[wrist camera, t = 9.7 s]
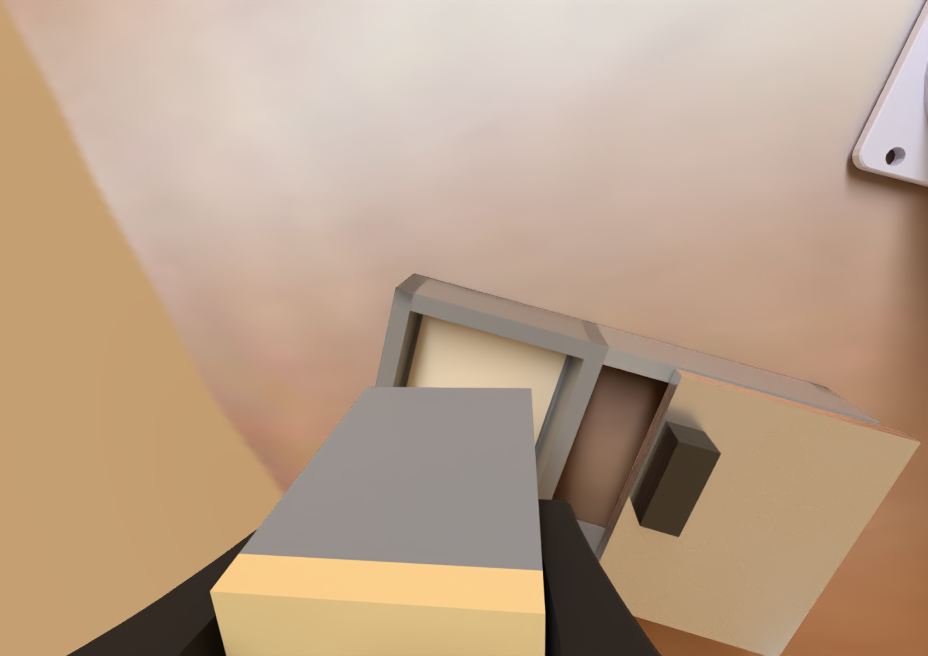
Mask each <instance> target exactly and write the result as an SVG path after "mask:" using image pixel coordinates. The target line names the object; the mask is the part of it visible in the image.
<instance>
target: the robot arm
mask: <svg viewBox="0 0 928 656" xmlns="http://www.w3.org/2000/svg"><path fill="white" fill-rule="evenodd" d="M891 149H892V150H894V153H895V158H894V160H893V162H892V163H891V164H889V165H888V164H887V163H886V160H885V158H886V154H887V153H888V152H889V151H890V150H891ZM852 159H853V163H854V165H855V166H856V167H857V168H859V169H861V170H864V171H868V172H872V173H876V174H880V175H883V176H887V177H891V178H895V179H899V180H903V181H907V182H911V183H915V184H919V185H922V186H926V187H928V0H927V1H926V4H925V6H924V8H923V10H922V12H921V14H920V16H919V18H918V20H917V22H916V24H915V26H914V28H913V30H912V32H911V34H910V36H909V38H908V40H907V42H906V44H905V46H904V48H903V50H902V52H901V54H900V56H899V58H898V61H897V63H896V65H895V67H894V69H893V71H892V73H891V75H890V77H889V79H888V81H887V83H886V85H885V87H884V89H883V91H882V93H881V95H880V97H879V99H878V101H877V103H876V105H875V107H874V109H873V111H872V113H871V115H870V118H869V120H868V122H867V124H866V126H865V128H864V130H863V132H862V134H861V136H860V138H859V140H858V142H857V144H856V146H855V148H854V151H853V154H852ZM538 504H539V521H540V537H541V553H542V569H543V586H544V602H545V656H661V655H660V653H659V652H658V651H657V649H656V648H655V647H654V645H653V644H652V642H651V641H650V640H649V638H648V637H647V635H646V634H645V632H644V631H643V630H642V628H641V627H640V625H639V624H638V622H637V621H636V619H635V618H634V617H633V615H632V614H631V612H630V611H629V609H628V608H627V606H626V605H625V603H624V602H623V600H622V599H621V597H620V595H619V594H618V592H617V591H616V589H615V587H614V586H613V584H612V583H611V581H610V579H609V578H608V576H607V574H606V573H605V571H604V570H603V568H602V566H601V565H600V563H599V561H598V559H597V558H596V556H595V554H594V552H593V551H592V549H591V547H590V545H589V543H588V541H587V539H586V538H585V536H584V534H583V532H582V530H581V528H580V526H579V524H578V522H577V519H576V517H575V515H574V513H573V510H572V507H571V505H570V504H569V503H568V502H567V501H566V500H546V499H538ZM256 531H257V530H255V531H254V532H253V533H251V534H250V535H249V536H247V537H246V538H245V539H243V540H242V541H241V542H239V543H238V544H237V545H235V546H234V547H233V548H231V549H230V550H229V551H227V552H226V553H225V554H223V555H222V556H220V557H219V558H218V559H216V560H215V561H214V562H212V563H211V564H209V565H208V566H206V567H205V568H203V569H202V570H201V571H199V572H198V573H196V574H195V575H193V576H192V577H190V578H189V579H188V580H186V581H185V582H183V583H182V584H180V585H179V586H177V587H176V588H174V589H173V590H172V591H170V592H169V593H167V594H166V595H164V596H163V597H162V598H160V599H159V600H157V601H155V602H154V603H152V604H151V605H149V606H148V607H146V608H145V609H143V610H142V611H140V612H138V613H137V614H135V615H134V616H132V617H131V618H129V619H127V620H126V621H124V622H123V623H121V624H119V625H118V626H116V627H114V628H113V629H111V630H109V631H108V632H106V633H104V634H103V635H101V636H99V637H98V638H96V639H94V640H93V641H91V642H89V643H88V644H86V645H85V646H83V647H81V648H79V649H78V650H76V651H74V652H72V653H71V654H69V655H67V656H226V652H225V648H224V644H223V641H222V637H221V633H220V629H219V625H218V621H217V617H216V613H215V609H214V605H213V602H212V598H211V594H210V591H211V589H212V588H213V587H214V585H215V584H216V583H217V581H218V580H219V579H220V578H221V576H222V575H223V574H224V572H225V571H226V570H227V568H228V567H229V566H230V565H231V563H232V562H233V561H234V559H235V558H236V557H237V555H238V554H239V553H240V552H241V550H242V549H243V548H244V546H245V545H246V544H247V542H248V541H249V540H250V539H251V537H252V536H253V535H254V533H255V532H256Z"/></svg>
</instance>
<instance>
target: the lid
mask: <svg viewBox="0 0 928 656" xmlns="http://www.w3.org/2000/svg"><path fill="white" fill-rule="evenodd" d="M920 443H921V442H919V441H918V440H916V439H915V438H913V437H912V436H910V435H908V434H907V433H905V432H903V431H899V430H895V429H892V428H888V427H885V426H881V425H877V424H874V423H870V422H867V421H863V420H859V419H856V418H852V417H849V416H845V415H841V414H838V413H834V412H831V411H827V410H823V409H820V408H816V407H813V406H809V405H805V404H802V403H798V402H795V401H791V400H787V399H784V398H780V397H777V396H773V395H769V394H766V393H762V392H759V391H755V390H751V389H748V388H744V387H741V386H737V385H733V384H730V383H726V382H723V381H719V380H715V379H712V378H708V377H705V376H701V375H697V374H694V373H690V372H687V371H683V370H679V369H676V368H675V371H674V373H673V375H672V378H671V380H670V382H669V384H668V387H667V389H666V391H665V394H664V396H663V398H662V400H661V403H660V405H659V407H658V410H657V412H656V414H655V416H654V419H653V421H652V423H651V426H650V428H649V430H648V433H647V435H646V437H645V439H644V442H643V444H642V446H641V449H640V451H639V453H638V455H637V458H636V460H635V462H634V465H633V467H632V469H631V471H630V474H629V476H628V478H627V481H626V483H625V485H624V487H623V490H622V492H621V494H620V497H619V499H618V501H617V504H616V506H615V508H614V510H613V513H612V515H611V517H610V520H609V522H608V524H607V526H606V529H605V531H604V533H603V536H602V538H601V540H600V542H599V545H598V547H597V549H596V552H595V556H596V558H597V559H598V561H599V563H600V565H601V566H602V568H603V570H604V571H605V573H606V574H607V576H608V578H609V579H610V581H611V583H612V584H613V586H614V587H615V589H616V591H617V592H618V594H619V595H620V597H621V599H622V600H623V602H624V603H625V605H626V606H627V608H628V609H629V611H630V612H631V614H632V615H633V616H635V617H639V618H642V619H645V620H649V621H652V622H655V623H659V624H662V625H665V626H669V627H672V628H675V629H679V630H682V631H685V632H689V633H692V634H695V635H699V636H702V637H705V638H709V639H712V640H715V641H719V642H722V643H725V644H729V645H732V646H735V647H739V648H742V649H745V650H749V651H752V652H755V653H759V654H762V655H765V656H780V654H781V653H782V651H783V650H784V648H785V647H786V645H787V644H788V642H789V641H790V639H791V638H792V636H793V635H794V633H795V632H796V630H797V629H798V627H799V626H800V624H801V623H802V621H803V620H804V618H805V617H806V615H807V614H808V612H809V611H810V609H811V608H812V606H813V605H814V603H815V602H816V600H817V599H818V597H819V596H820V594H821V593H822V591H823V590H824V588H825V587H826V585H827V584H828V582H829V581H830V579H831V578H832V576H833V575H834V573H835V572H836V570H837V569H838V567H839V565H840V564H841V562H842V561H843V559H844V558H845V556H846V555H847V553H848V552H849V550H850V549H851V547H852V546H853V544H854V543H855V541H856V540H857V538H858V537H859V535H860V534H861V532H862V531H863V529H864V528H865V526H866V525H867V523H868V522H869V520H870V519H871V517H872V516H873V514H874V513H875V511H876V510H877V508H878V507H879V505H880V504H881V502H882V501H883V499H884V498H885V496H886V495H887V493H888V492H889V490H890V489H891V487H892V486H893V484H894V483H895V481H896V480H897V478H898V477H899V475H900V474H901V472H902V471H903V469H904V468H905V466H906V464H907V463H908V461H909V460H910V458H911V457H912V455H913V454H914V452H915V451H916V449H917V448H918V446H919V445H920Z"/></svg>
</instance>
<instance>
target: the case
mask: <svg viewBox="0 0 928 656" xmlns="http://www.w3.org/2000/svg"><path fill="white" fill-rule="evenodd" d="M602 365H607V366H610V367H614V368H618V369H621V370H625V371H628V372H632V373H636V374H639V375H643V376H646V377H650V378H653V379H657V380H661V381H664V382H668V383H669V382H670V380H671V378H672V375H673V373H674V371H675V368H676V369H679V370H683V371H687V372H690V373H694V374H697V375H701V376H705V377H708V378H712V379H715V380H719V381H723V382H726V383H730V384H733V385H737V386H741V387H744V388H748V389H751V390H755V391H759V392H762V393H766V394H769V395H773V396H777V397H780V398H784V399H787V400H791V401H795V402H798V403H802V404H805V405H809V406H813V407H816V408H820V409H823V410H827V411H831V412H834V413H838V414H841V415H845V416H849V417H852V418H856V419H859V420H863V421H867V422H870V423H874V424H877V425H878V424H879V422H878V421H877V420H875V419H874V418H872V417H871V416H869V415H868V414H866V413H865V412H863V411H861V410H860V409H858V408H857V407H855V406H854V405H852V404H851V403H849V402H848V401H846V400H845V399H843V398H842V397H840V396H839V395H837V394H835V393H834V392H832V391H831V390H829V389H828V388H826V387H823V386H820V385H816V384H812V383H809V382H805V381H802V380H798V379H794V378H791V377H787V376H783V375H780V374H776V373H773V372H769V371H765V370H762V369H758V368H754V367H751V366H747V365H744V364H740V363H736V362H733V361H729V360H725V359H722V358H718V357H715V356H711V355H707V354H704V353H700V352H696V351H693V350H689V349H686V348H682V347H678V346H675V345H671V344H667V343H664V342H660V341H657V340H653V339H649V338H646V337H642V336H638V335H635V334H631V333H628V332H624V331H620V330H617V329H613V328H609V327H606V326H602V325H599V324H595V323H591V322H588V321H584V320H580V319H577V318H573V317H570V316H566V315H562V314H559V313H555V312H551V311H548V310H544V309H541V308H537V307H533V306H530V305H526V304H522V303H519V302H515V301H512V300H508V299H504V298H501V297H497V296H493V295H490V294H486V293H483V292H479V291H475V290H472V289H468V288H464V287H461V286H457V285H454V284H450V283H446V282H443V281H439V280H435V279H432V278H428V277H425V276H421V275H417V274H413V275H412V276H410V277H409V278H408V279H406V280H405V281H404V282H403V283H401V284H400V285H399V286H398V287H396V289H395V294H394V299H393V304H392V308H391V313H390V318H389V323H388V328H387V332H386V337H385V342H384V347H383V352H382V356H381V361H380V366H379V371H378V376H377V380H376V385H375V387H437V388H531V391H532V407H533V423H534V440H535V456H536V472H537V488H538V499H546V500H551V499H552V497H553V494H554V491H555V489H556V486H557V484H558V481H559V478H560V476H561V473H562V470H563V468H564V465H565V462H566V460H567V457H568V455H569V452H570V449H571V447H572V444H573V441H574V439H575V436H576V434H577V431H578V428H579V426H580V423H581V420H582V418H583V415H584V412H585V410H586V407H587V405H588V402H589V399H590V397H591V394H592V391H593V389H594V386H595V383H596V381H597V378H598V376H599V373H600V370H601V368H602ZM577 522H578V524H579V526H580V528H581V530H582V532H583V534H584V536H585V538H586V539H587V541H588V543H589V545H590V547H591V549H592V551H593V552H594V554H595V552H596V549H597V547H598V545H599V542H600V540H601V538H602V536H603V533H604V531H605V529H606V528H604V527H601V526H598V525H594V524H591V523H587V522H584V521H581V520H577Z"/></svg>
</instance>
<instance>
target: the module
mask: <svg viewBox="0 0 928 656" xmlns="http://www.w3.org/2000/svg"><path fill="white" fill-rule="evenodd" d="M210 594H211V598H212V602H213V605H214V609H215V613H216V617H217V621H218V625H219V629H220V633H221V637H222V641H223V644H224V648H225V652H226V656H545V602H544V586H543V569H542V553H541V537H540V521H539V504H538V488H537V472H536V456H535V440H534V423H533V407H532V391H531V388H437V387H367V388H366V389H365V390H364V392H363V393H362V394H361V396H360V397H359V398H358V399H357V401H356V402H355V403H354V405H353V406H352V407H351V409H350V410H349V411H348V412H347V414H346V415H345V416H344V418H343V419H342V420H341V422H340V423H339V424H338V425H337V427H336V428H335V429H334V431H333V432H332V433H331V435H330V436H329V437H328V438H327V440H326V441H325V442H324V444H323V445H322V446H321V448H320V449H319V450H318V451H317V453H316V454H315V455H314V457H313V458H312V459H311V461H310V462H309V463H308V464H307V466H306V467H305V468H304V470H303V471H302V472H301V474H300V475H299V476H298V477H297V479H296V480H295V481H294V483H293V484H292V485H291V487H290V488H289V489H288V490H287V492H286V493H285V494H284V496H283V497H282V498H281V500H280V501H279V502H278V503H277V505H276V506H275V507H274V509H273V510H272V511H271V513H270V514H269V515H268V517H267V518H266V519H265V521H264V522H263V523H262V524H261V526H260V527H259V528H258V529H257V531H256V532H255V533H254V535H253V536H252V537H251V539H250V540H249V541H248V542H247V544H246V545H245V546H244V548H243V549H242V550H241V552H240V553H239V554H238V555H237V557H236V558H235V559H234V561H233V562H232V563H231V565H230V566H229V567H228V568H227V570H226V571H225V572H224V574H223V575H222V576H221V578H220V579H219V580H218V581H217V583H216V584H215V585H214V587H213V588H212V589H211V591H210Z"/></svg>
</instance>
